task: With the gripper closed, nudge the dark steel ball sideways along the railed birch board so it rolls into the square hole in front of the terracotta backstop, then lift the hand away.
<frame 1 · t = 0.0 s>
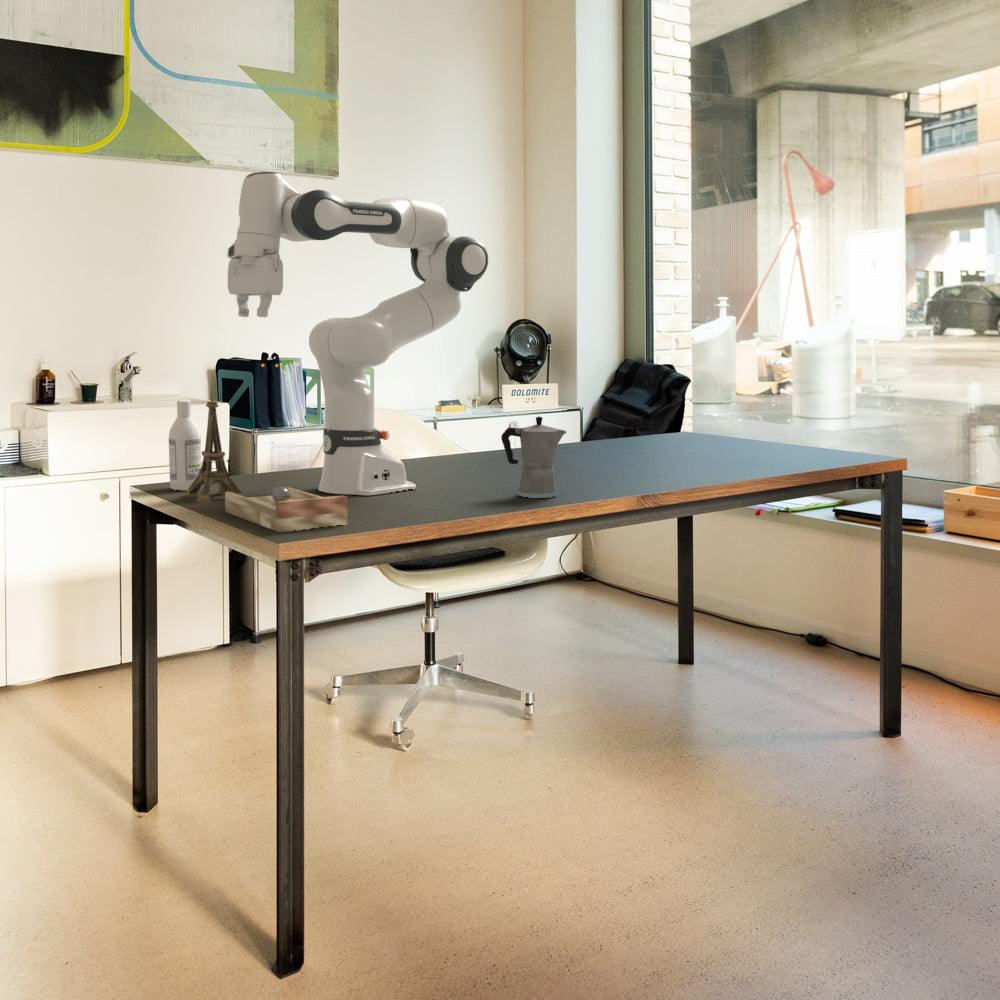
hand: (252, 316, 229), 39 cm above the table, tool pointing down, fingers open, 8 cm apart
bath foam: (186, 489, 247), on the table
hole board: (285, 518, 213), on the table
coffeepot: (532, 496, 247), on the table
eiffel tower: (214, 498, 236), on the table
steel ball: (281, 495, 214), point 4 cm above the table, touching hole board
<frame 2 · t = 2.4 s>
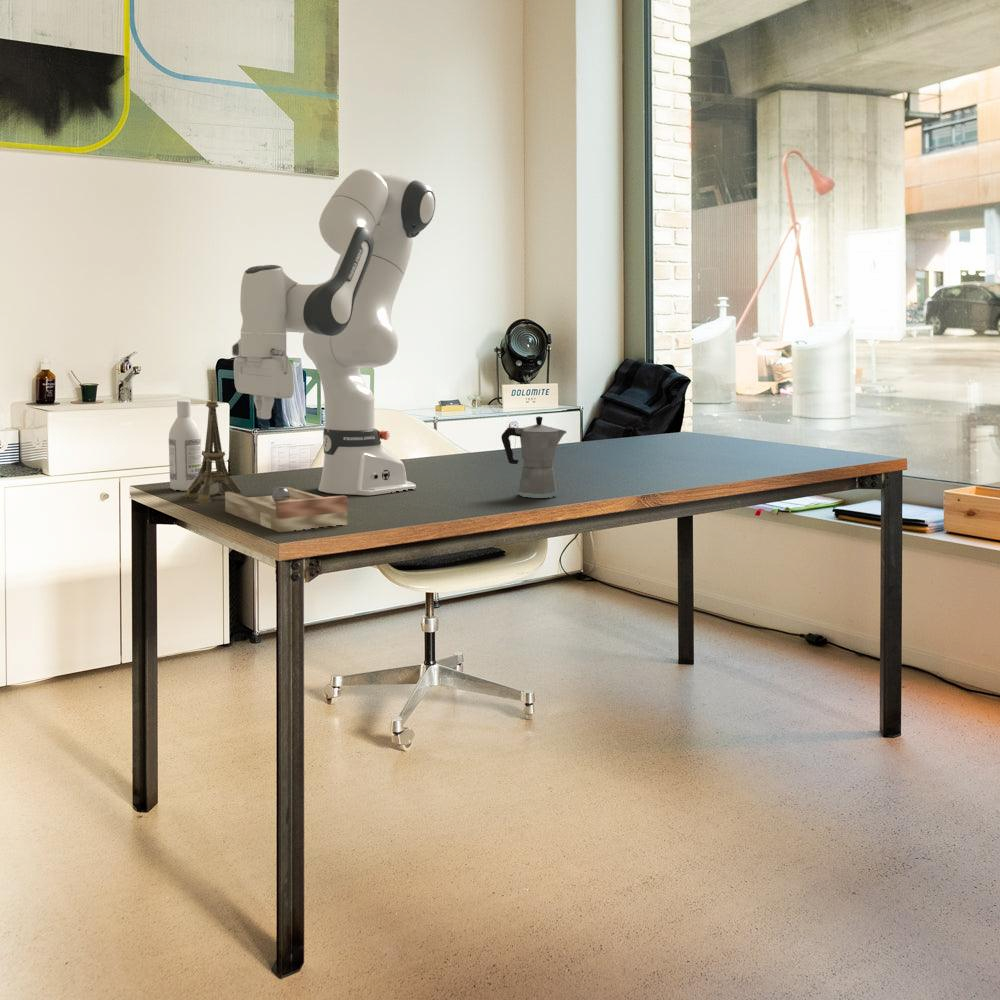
hand: (263, 418, 217), 19 cm above the table, tool pointing down, fingers closed
nothing on the table moved.
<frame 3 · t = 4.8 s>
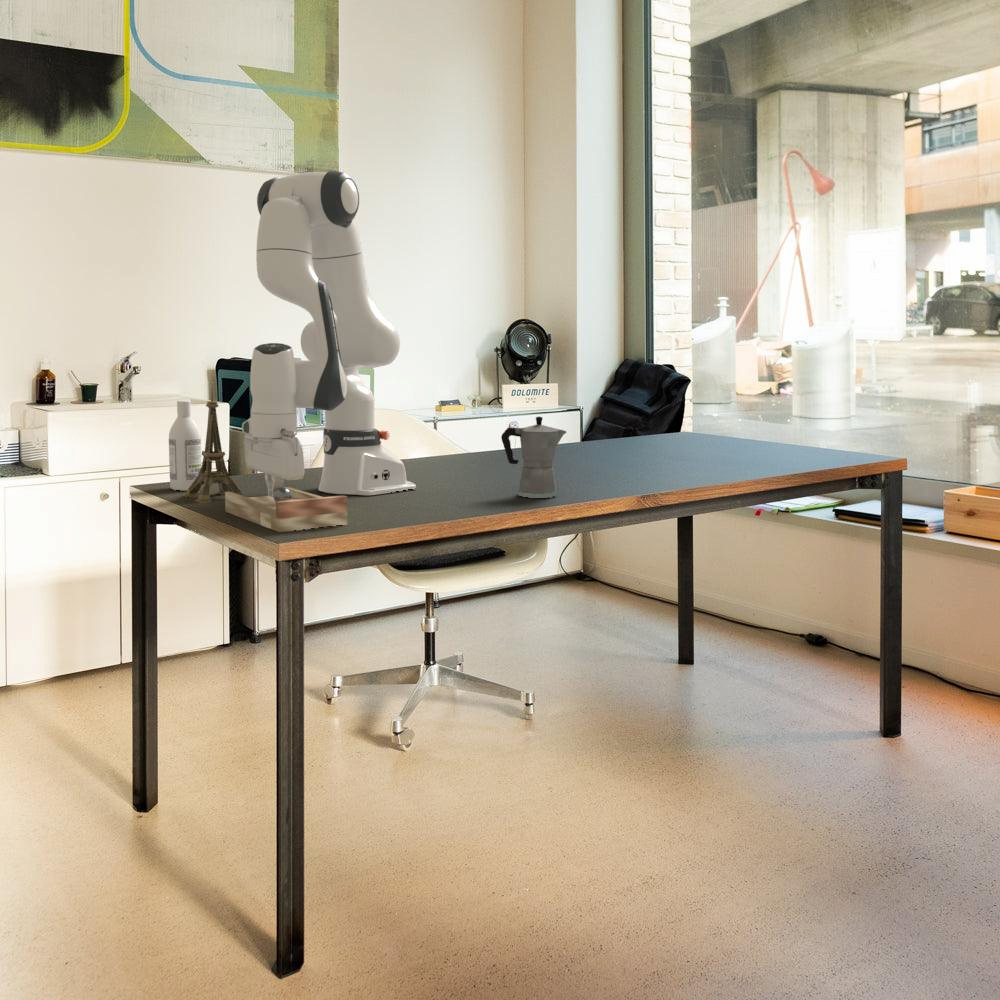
hand: (274, 496, 215), 4 cm above the table, tool pointing down, fingers closed
steel ball: (282, 496, 213), point 4 cm above the table, tilted 22°, touching gripper, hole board
everything else where it was.
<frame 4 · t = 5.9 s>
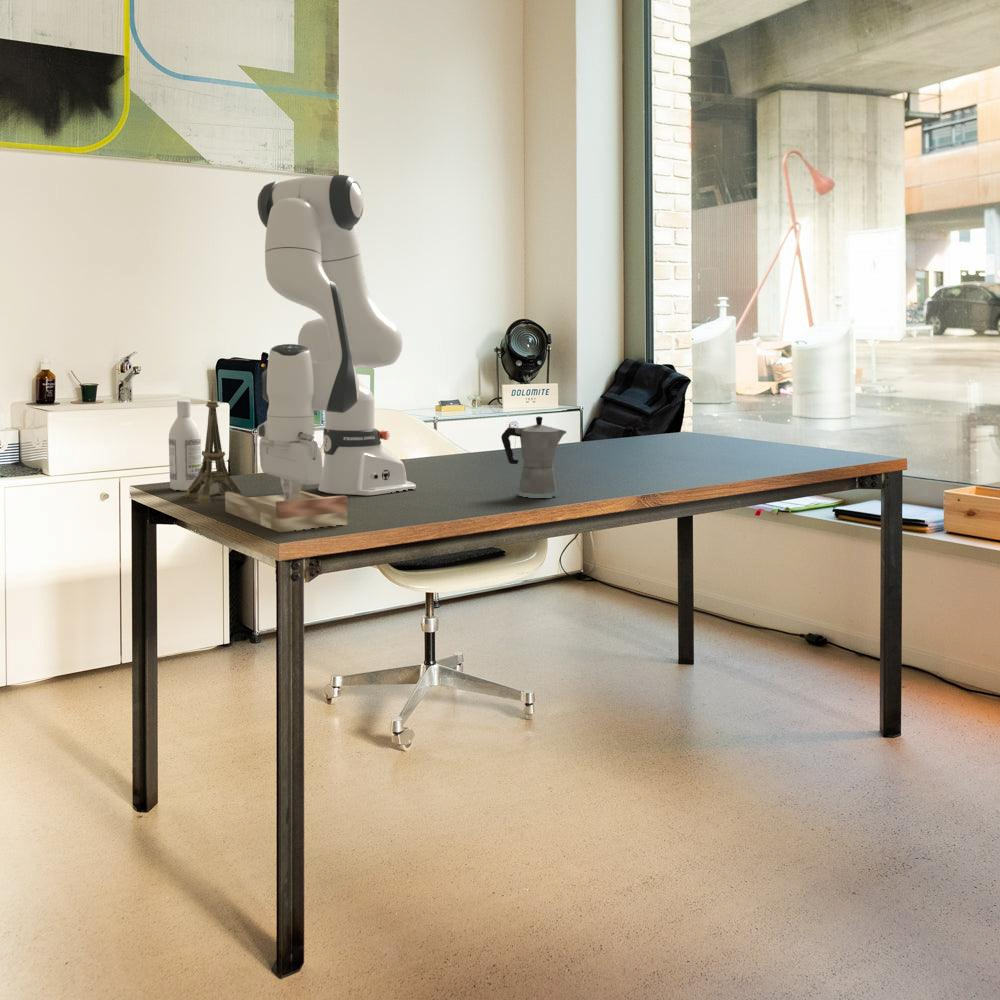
hand: (291, 502, 210), 4 cm above the table, tool pointing down, fingers closed
steel ball: (300, 514, 207), point 2 cm above the table, tilted 30°
everything else where it was.
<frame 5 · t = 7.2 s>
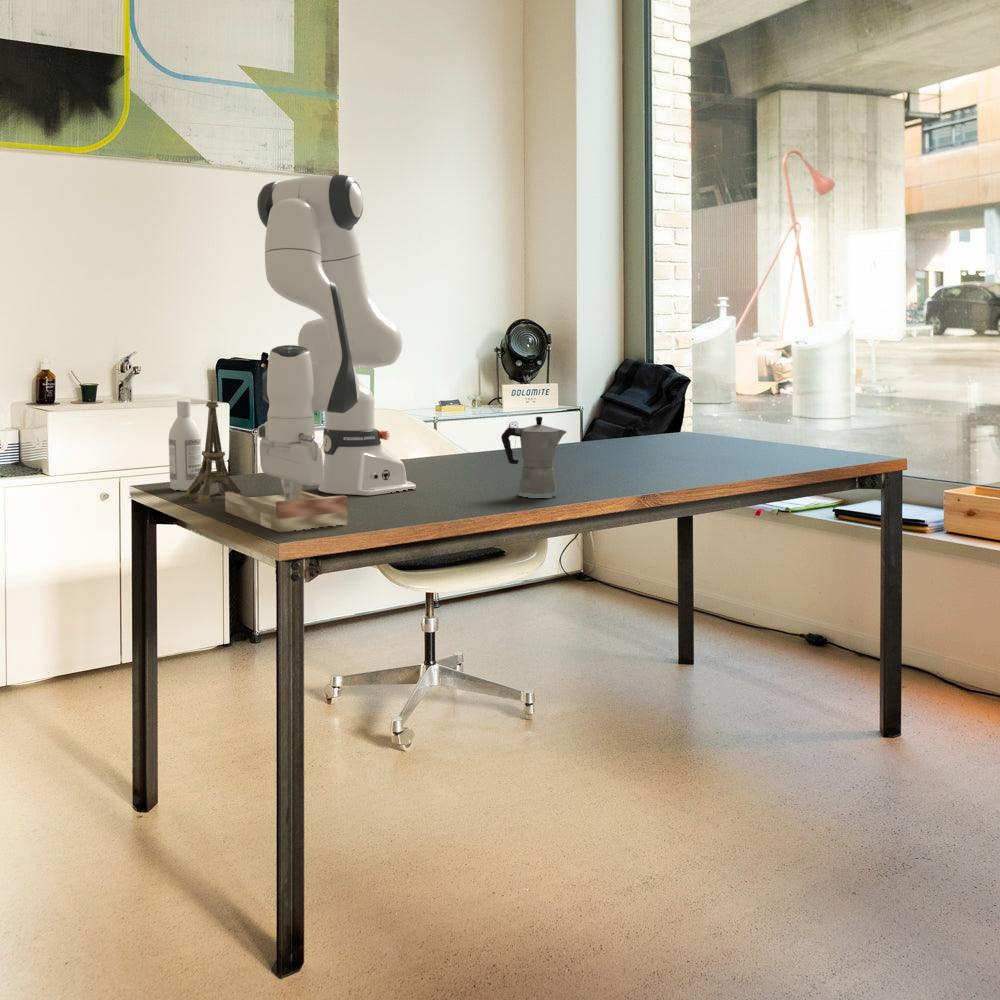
hand: (292, 502, 211), 3 cm above the table, tool pointing down, fingers closed
steel ball: (298, 514, 208), point 2 cm above the table, tilted 51°
everything else where it was.
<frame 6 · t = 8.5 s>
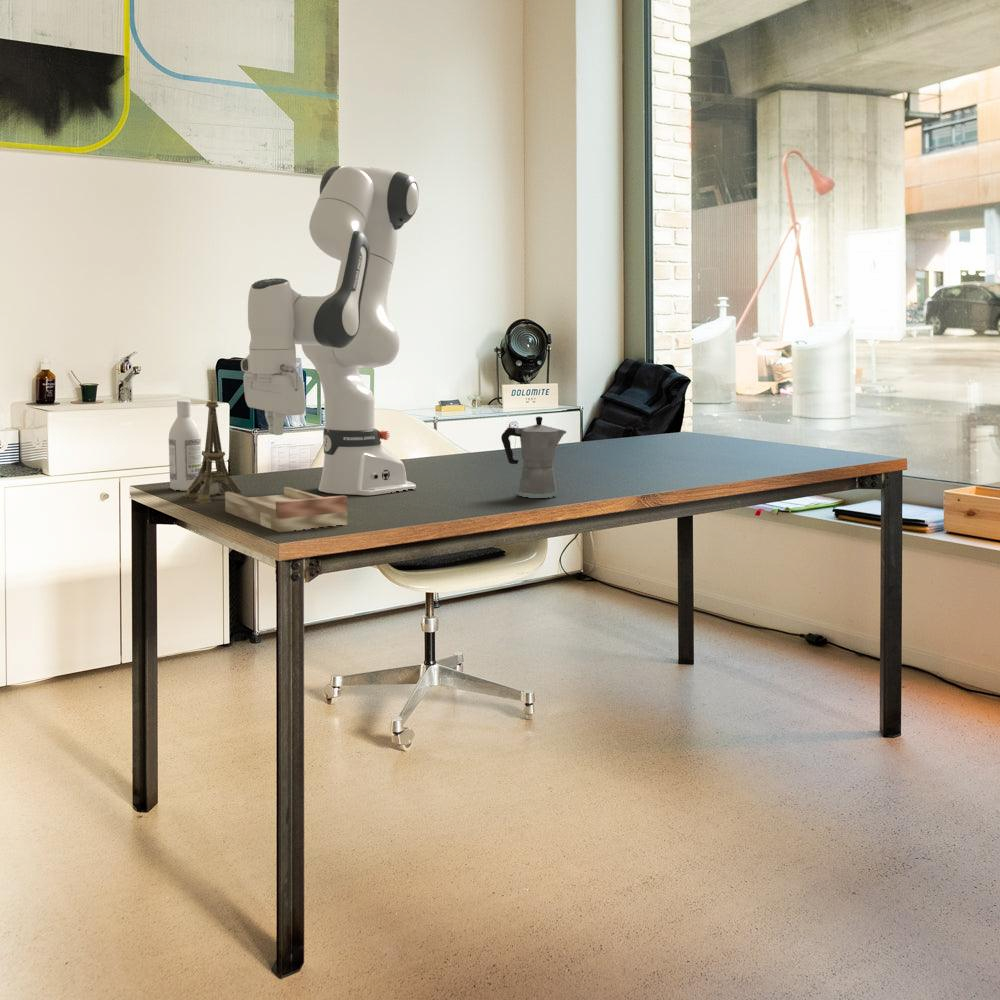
hand: (276, 434, 214), 16 cm above the table, tool pointing down, fingers closed
steel ball: (298, 514, 208), point 2 cm above the table, tilted 62°
everything else where it was.
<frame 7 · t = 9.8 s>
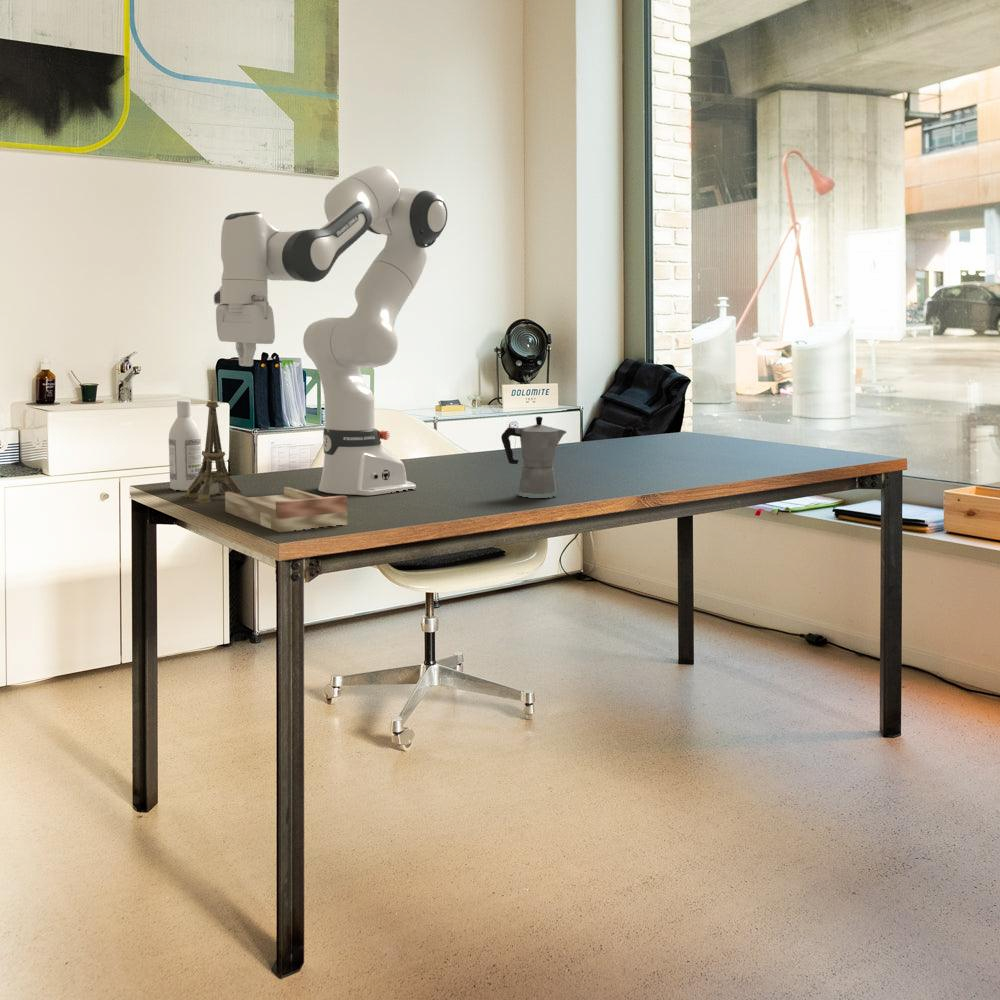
hand: (246, 366, 217), 29 cm above the table, tool pointing down, fingers closed
nothing on the table moved.
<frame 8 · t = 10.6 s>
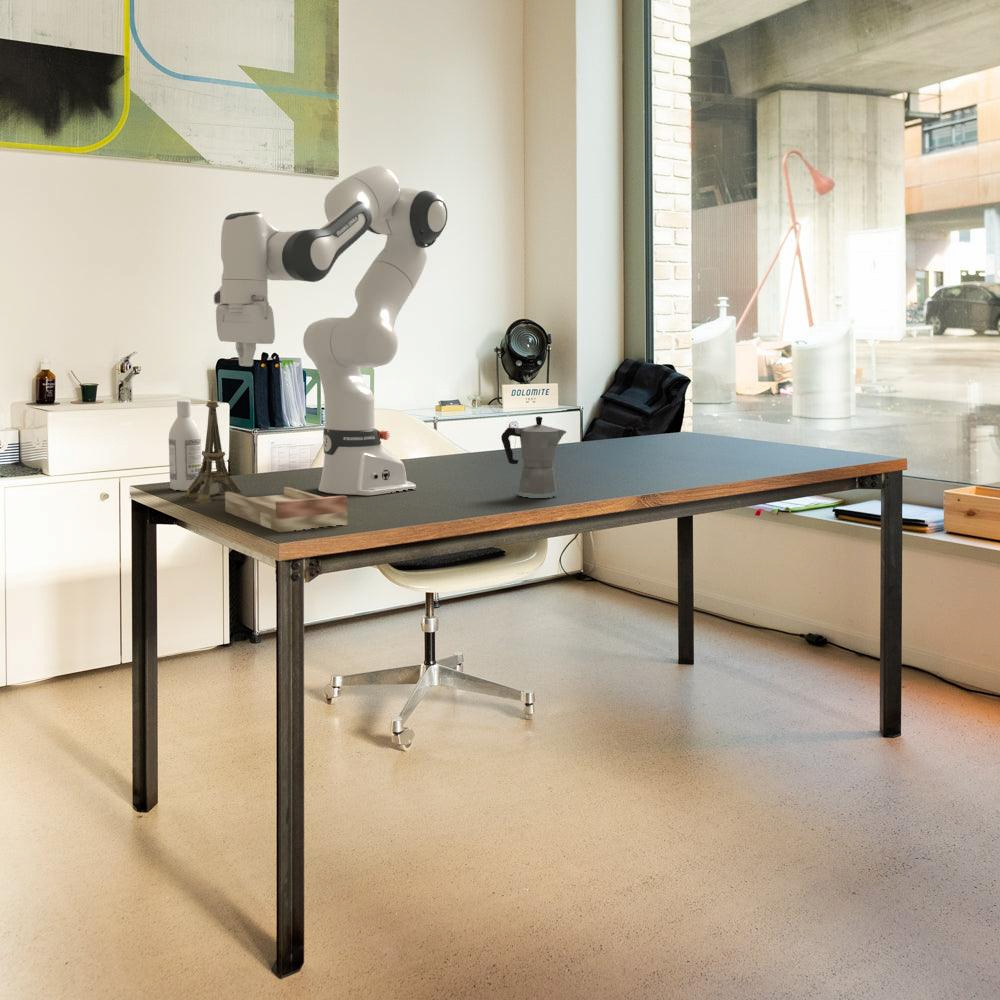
hand: (246, 366, 217), 29 cm above the table, tool pointing down, fingers closed
nothing on the table moved.
at the end: steel ball 0.3 cm from the target spot on the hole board, point 1.7 cm above the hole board's base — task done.
